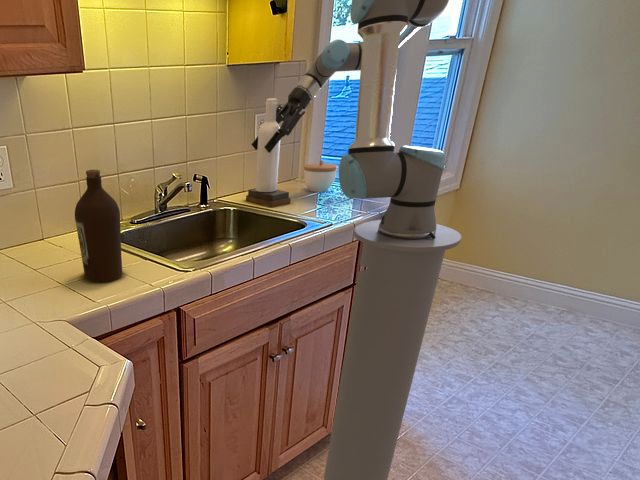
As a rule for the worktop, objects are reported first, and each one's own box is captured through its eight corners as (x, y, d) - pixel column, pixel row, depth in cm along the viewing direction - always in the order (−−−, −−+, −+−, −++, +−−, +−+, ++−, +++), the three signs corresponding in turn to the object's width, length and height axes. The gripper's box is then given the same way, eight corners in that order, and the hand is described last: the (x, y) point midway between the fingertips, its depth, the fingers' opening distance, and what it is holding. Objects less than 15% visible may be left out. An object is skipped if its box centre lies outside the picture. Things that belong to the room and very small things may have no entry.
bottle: (270, 187, 189) (276, 97, 174) (281, 190, 182) (288, 98, 167) (251, 189, 187) (255, 99, 172) (261, 193, 180) (267, 99, 165)
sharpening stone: (290, 203, 182) (291, 192, 180) (271, 207, 178) (272, 195, 176) (263, 197, 193) (264, 186, 191) (245, 200, 189) (246, 189, 187)
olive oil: (120, 266, 130) (112, 165, 118) (128, 280, 122) (120, 172, 109) (80, 271, 128) (66, 169, 116) (85, 286, 119) (71, 176, 107)
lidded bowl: (329, 185, 205) (332, 157, 200) (339, 192, 194) (343, 162, 189) (298, 187, 205) (301, 158, 200) (306, 193, 194) (309, 163, 189)
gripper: (327, 103, 167) (282, 159, 170) (291, 101, 183) (251, 152, 187) (316, 86, 162) (270, 144, 166) (280, 85, 179) (239, 138, 182)
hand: (260, 148), depth 176 cm, fingers closed on bottle, 8 cm apart
